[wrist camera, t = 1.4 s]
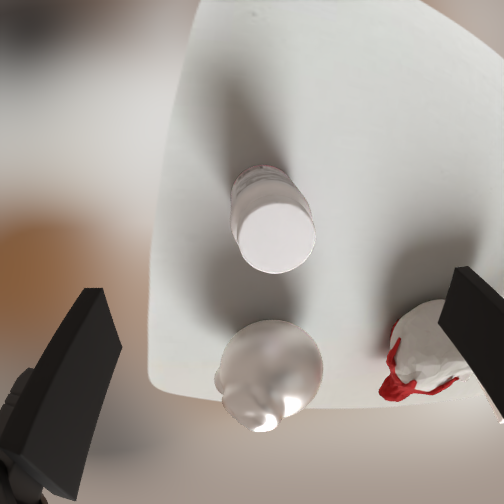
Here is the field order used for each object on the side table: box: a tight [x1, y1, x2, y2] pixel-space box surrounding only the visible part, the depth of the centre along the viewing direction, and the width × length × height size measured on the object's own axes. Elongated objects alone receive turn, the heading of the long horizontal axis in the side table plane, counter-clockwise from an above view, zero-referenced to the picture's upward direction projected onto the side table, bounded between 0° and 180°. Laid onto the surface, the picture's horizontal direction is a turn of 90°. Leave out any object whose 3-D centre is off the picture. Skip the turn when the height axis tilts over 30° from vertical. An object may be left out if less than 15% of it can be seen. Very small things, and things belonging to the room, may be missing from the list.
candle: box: [379, 299, 474, 402], centre depth 27 cm, size 9×11×15 cm
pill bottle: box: [230, 165, 316, 274], centre depth 19 cm, size 5×5×8 cm
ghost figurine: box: [214, 320, 323, 432], centre depth 25 cm, size 9×10×10 cm
